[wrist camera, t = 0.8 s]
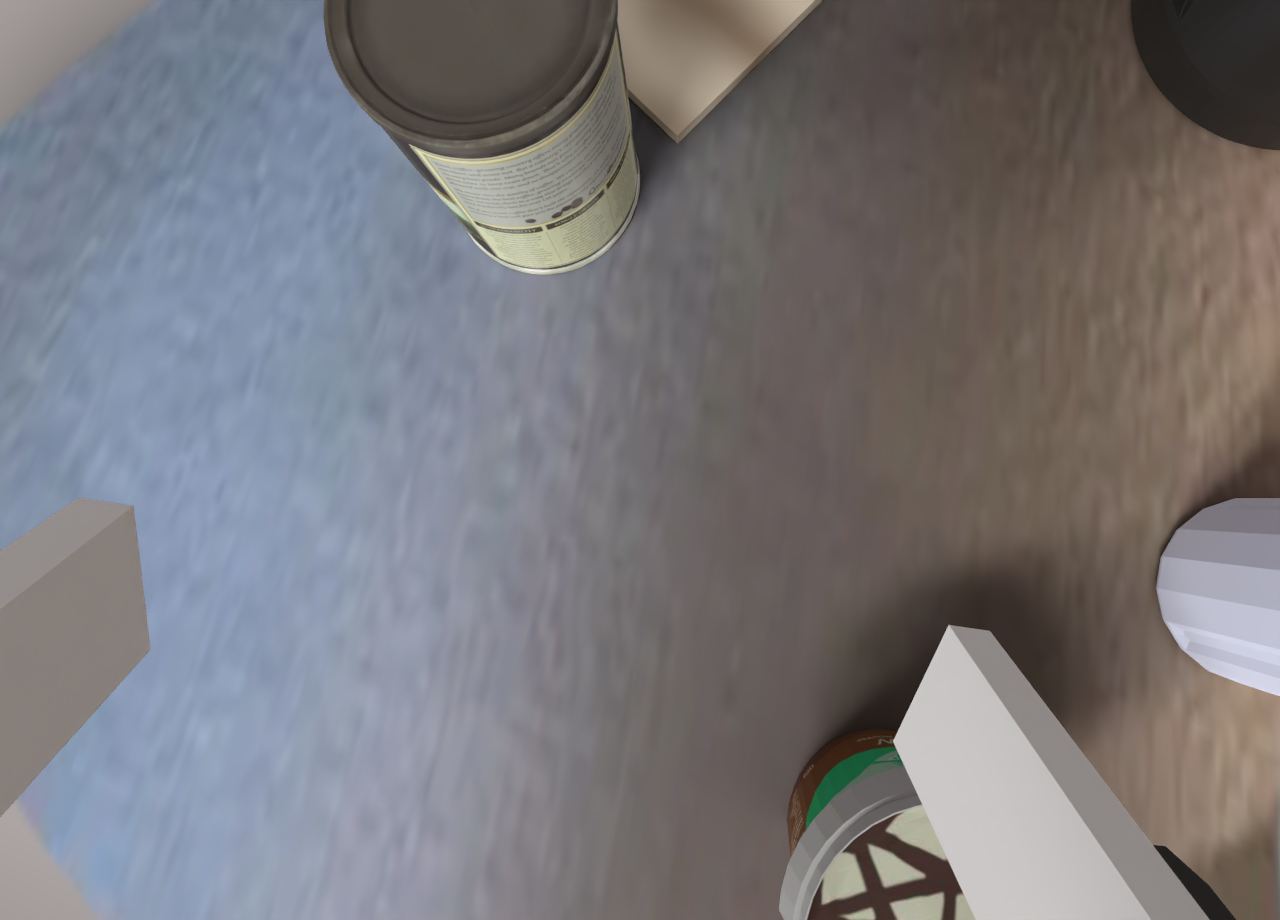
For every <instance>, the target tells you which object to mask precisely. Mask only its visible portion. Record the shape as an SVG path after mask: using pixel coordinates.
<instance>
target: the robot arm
mask: <svg viewBox="0 0 1280 920" xmlns="http://www.w3.org/2000/svg"><path fill="white" fill-rule="evenodd" d="M1132 22H1133V29H1134V34H1135V39H1136V43H1137V46H1138V50H1139V52H1140V55H1141V58H1142V60H1143V62H1144V64H1145V66H1146V69H1147V70H1148V72H1149V74H1150V76H1151V77H1152V79H1153V80H1154V82H1155V83H1156V85H1157V86H1158V88H1159V89H1160V90H1161V92H1162V93H1163V94H1164V95H1165V96H1166V97H1167V99H1168V100H1169V101H1170V102H1171V103H1172V104H1173V105H1174V106H1175V107H1176V108H1177V109H1178V110H1179V111H1181V112H1182V113H1183V114H1184V115H1186V116H1187V117H1188V118H1189V119H1191V120H1192V121H1194V122H1195V123H1197V124H1198V125H1200V126H1202V127H1203V128H1205V129H1207V130H1208V131H1210V132H1212V133H1214V134H1216V135H1218V136H1221V137H1223V138H1226V139H1228V140H1231V141H1234V142H1237V143H1240V144H1244V145H1248V146H1252V147H1257V148H1263V149H1271V150H1280V0H1132ZM149 651H150V640H149V632H148V624H147V615H146V607H145V598H144V590H143V581H142V573H141V565H140V556H139V548H138V539H137V531H136V522H135V514H134V506H132V505H125V504H118V503H111V502H105V501H98V500H91V499H84V498H77V499H76V500H74V501H73V502H71V503H70V504H68V505H67V506H66V507H64V508H63V509H61V510H60V511H58V512H57V513H55V514H54V515H52V516H51V517H49V518H48V519H46V520H45V521H44V522H42V523H41V524H39V525H38V526H36V527H35V528H33V529H32V530H30V531H29V532H27V533H26V534H24V535H23V536H22V537H20V538H19V539H17V540H16V541H14V542H13V543H11V544H10V545H8V546H7V547H5V548H4V549H2V550H1V551H0V817H1V816H2V815H3V814H4V812H5V811H6V810H7V809H8V808H9V807H10V806H11V805H12V804H13V803H14V801H15V800H16V799H17V798H18V797H19V796H20V795H21V794H22V792H23V791H24V790H25V789H26V788H27V787H28V786H29V785H30V784H31V782H32V781H33V780H34V779H35V778H36V777H37V776H38V775H39V773H40V772H41V771H42V770H43V769H44V768H45V767H46V766H47V765H48V763H49V762H50V761H51V760H52V759H53V758H54V757H55V756H56V754H57V753H58V752H59V751H60V750H61V749H62V748H63V747H64V746H65V744H66V743H67V742H68V741H69V740H70V739H71V738H72V737H73V735H74V734H75V733H76V732H77V731H78V730H79V729H80V728H81V727H82V725H83V724H84V723H85V722H86V721H87V720H88V719H89V718H90V716H91V715H92V714H93V713H94V712H95V711H96V710H97V709H98V708H99V706H100V705H101V704H102V703H103V702H104V701H105V700H106V699H107V697H108V696H109V695H110V694H111V693H112V692H113V691H114V690H115V689H116V687H117V686H118V685H119V684H120V683H121V682H122V681H123V680H124V679H125V677H126V676H127V675H128V674H129V673H130V672H131V671H132V670H133V668H134V667H135V666H136V665H137V664H138V663H139V662H140V661H141V660H142V658H143V657H144V656H145V655H146V654H147V653H148V652H149ZM893 743H894V745H895V747H896V749H897V751H898V753H899V755H900V758H901V760H902V762H903V764H904V766H905V768H906V771H907V773H908V775H909V777H910V779H911V781H912V784H913V786H914V788H915V790H916V792H917V794H918V797H919V799H920V801H921V803H922V805H923V807H924V809H925V812H926V814H927V816H928V818H929V820H930V822H931V825H932V827H933V829H934V831H935V833H936V835H937V838H938V840H939V842H940V844H941V846H942V848H943V851H944V853H945V855H946V857H947V859H948V861H949V863H950V866H951V868H952V870H953V872H954V874H955V876H956V879H957V881H958V883H959V885H960V887H961V889H962V892H963V894H964V896H965V898H966V900H967V902H968V905H969V907H970V909H971V911H972V913H973V915H974V917H975V920H1236V919H1235V918H1234V916H1233V915H1232V914H1231V913H1230V911H1229V910H1228V909H1227V908H1226V906H1225V905H1224V904H1223V903H1222V901H1221V900H1220V899H1219V898H1218V896H1217V895H1216V894H1215V893H1214V891H1213V890H1212V889H1211V888H1210V886H1209V885H1208V884H1207V883H1206V882H1204V881H1203V880H1202V879H1201V878H1200V877H1199V876H1198V875H1197V874H1196V873H1194V872H1193V871H1192V870H1191V869H1190V868H1189V867H1188V866H1187V865H1186V864H1184V863H1183V862H1182V861H1181V860H1180V859H1179V858H1178V857H1177V856H1176V855H1174V854H1173V853H1172V852H1171V851H1170V850H1169V849H1168V848H1167V847H1165V846H1157V845H1152V843H1151V842H1150V841H1149V839H1148V838H1147V837H1146V835H1145V834H1144V833H1143V831H1142V830H1141V829H1140V828H1139V826H1138V825H1137V824H1136V822H1135V821H1134V820H1133V818H1132V817H1131V816H1130V814H1129V813H1128V812H1127V810H1126V809H1125V808H1124V806H1123V805H1122V804H1121V803H1120V801H1119V800H1118V799H1117V797H1116V796H1115V795H1114V793H1113V792H1112V791H1111V789H1110V788H1109V787H1108V785H1107V784H1106V783H1105V782H1104V780H1103V779H1102V778H1101V776H1100V775H1099V774H1098V772H1097V771H1096V770H1095V768H1094V767H1093V766H1092V764H1091V763H1090V762H1089V760H1088V759H1087V758H1086V757H1085V755H1084V754H1083V753H1082V751H1081V750H1080V749H1079V747H1078V746H1077V745H1076V743H1075V742H1074V741H1073V739H1072V738H1071V737H1070V736H1069V734H1068V733H1067V732H1066V730H1065V729H1064V728H1063V726H1062V725H1061V724H1060V722H1059V721H1058V720H1057V718H1056V717H1055V716H1054V715H1053V713H1052V712H1051V711H1050V709H1049V708H1048V707H1047V705H1046V704H1045V703H1044V701H1043V700H1042V699H1041V697H1040V696H1039V695H1038V693H1037V692H1036V691H1035V690H1034V688H1033V687H1032V686H1031V684H1030V683H1029V682H1028V680H1027V679H1026V678H1025V676H1024V675H1023V674H1022V672H1021V671H1020V670H1019V669H1018V667H1017V666H1016V665H1015V663H1014V662H1013V661H1012V659H1011V658H1010V657H1009V655H1008V654H1007V653H1006V651H1005V650H1004V649H1003V647H1002V646H1001V645H1000V644H999V642H998V641H997V640H996V638H995V637H994V636H993V634H992V633H991V632H990V631H987V630H980V629H973V628H967V627H960V626H953V625H948V627H947V630H946V632H945V634H944V636H943V638H942V640H941V642H940V644H939V646H938V648H937V650H936V653H935V655H934V657H933V659H932V661H931V663H930V665H929V667H928V669H927V671H926V673H925V675H924V678H923V680H922V682H921V684H920V686H919V688H918V690H917V692H916V694H915V696H914V698H913V701H912V703H911V705H910V707H909V709H908V711H907V713H906V715H905V717H904V719H903V721H902V724H901V726H900V728H899V730H898V732H897V734H896V736H895V738H894V740H893Z"/></svg>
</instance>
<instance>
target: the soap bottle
mask: <svg viewBox="0 0 1280 920" xmlns="http://www.w3.org/2000/svg"><path fill="white" fill-rule="evenodd" d="M1156 591H1157V595H1158V600H1159V605H1160V610H1161V615H1162V619H1163V621H1164V622H1165V624H1166V625H1167V627H1168V629H1169V630H1170V632H1171V634H1172V635H1173V637H1174V638H1175V640H1176V642H1177V643H1178V645H1179V647H1180V648H1181V649H1182V650H1183V651H1184V652H1186V653H1187V654H1188V655H1189V656H1191V657H1192V658H1193V659H1194V660H1195V661H1197V662H1198V663H1199V664H1200V665H1201V666H1203V667H1204V668H1205V669H1206V670H1208V671H1209V672H1212V673H1215V674H1217V675H1220V676H1223V677H1225V678H1228V679H1231V680H1233V681H1236V682H1238V683H1241V684H1244V685H1247V686H1250V687H1253V688H1256V689H1259V690H1262V691H1265V692H1268V693H1271V694H1274V695H1277V696H1280V498H1234V499H1231V500H1228V501H1225V502H1222V503H1219V504H1216V505H1213V506H1210V507H1207V508H1204V509H1202V510H1201V511H1200V512H1198V513H1197V514H1196V515H1195V516H1193V517H1192V518H1191V519H1190V520H1188V521H1187V522H1186V523H1185V524H1183V525H1182V526H1181V527H1180V528H1178V529H1177V530H1176V531H1175V533H1174V535H1173V537H1172V538H1171V540H1170V542H1169V544H1168V545H1167V547H1166V549H1165V550H1164V552H1163V554H1162V556H1161V558H1160V565H1159V571H1158V577H1157V584H1156Z"/></svg>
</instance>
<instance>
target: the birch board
mask: <svg viewBox="0 0 1280 920" xmlns="http://www.w3.org/2000/svg"><path fill="white" fill-rule="evenodd" d="M822 1H823V0H618V17H617V21H618V28H619V35H620V42H621V50H622V57H623V63H624V69H625V77H626V84H627V91H628V97H629V98H630V99H631V100H632V101H633V102H634V103H635V104H636V105H638V106H639V107H640V108H641V109H642V110H643V111H644V112H645V113H646V114H647V115H648V116H649V117H650V118H651V119H652V120H653V121H654V122H655V123H656V124H657V125H658V126H660V127H661V128H662V129H663V130H664V131H665V132H666V133H667V134H668V135H669V136H670V137H671V138H672V139H673V140H674V141H675V142H676V143H677V144H678V143H679V142H680V141H681V140H682V139H683V138H684V137H685V136H686V135H687V134H688V133H689V132H690V131H691V130H692V129H693V128H694V127H695V126H696V125H697V124H698V123H699V122H700V121H701V120H702V119H703V118H704V117H705V116H706V115H707V114H708V113H709V112H710V111H711V110H712V109H713V108H714V107H715V106H716V105H717V104H718V103H719V102H720V101H721V100H722V99H723V98H724V97H725V96H726V95H728V94H729V93H730V92H731V91H732V90H733V89H734V88H735V87H736V86H737V85H738V84H739V83H740V82H741V81H742V80H743V79H744V78H745V77H746V76H747V75H748V74H749V73H750V72H751V71H752V70H753V69H754V68H755V67H756V66H757V65H758V64H759V63H760V62H761V61H762V60H763V59H764V58H765V57H766V56H767V55H768V54H769V53H770V52H771V51H772V50H773V49H774V48H775V47H776V46H777V45H778V44H779V43H780V42H781V41H782V40H783V39H784V38H785V37H786V36H787V35H788V34H789V33H790V32H791V31H792V30H793V29H794V28H795V27H796V26H797V25H798V24H799V23H800V22H801V21H802V20H803V19H804V18H805V17H806V16H807V15H808V14H809V13H811V12H812V11H813V10H814V9H815V8H816V7H817V6H818V5H819V4H820V3H821V2H822Z"/></svg>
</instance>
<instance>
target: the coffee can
mask: <svg viewBox="0 0 1280 920" xmlns="http://www.w3.org/2000/svg"><path fill="white" fill-rule="evenodd" d="M617 17H618V0H324V25H325V35H326V41H327V47H328V50H329V53H330V56H331V58H332V61H333V64H334V66H335V69H336V71H337V73H338V75H339V77H340V78H341V80H342V82H343V84H344V85H345V87H346V88H347V90H348V91H349V93H350V94H351V96H352V97H353V98H354V99H355V101H356V102H357V103H358V104H359V105H360V107H361V108H362V109H363V110H364V111H365V112H366V113H367V114H368V115H369V116H370V117H371V118H372V119H373V120H374V121H375V122H376V123H377V124H379V125H380V126H381V127H382V128H383V129H384V130H385V131H386V133H387V134H388V135H389V136H390V138H391V139H392V140H393V141H394V142H395V144H396V145H397V146H398V147H399V149H400V150H401V151H402V152H403V153H404V155H405V156H406V157H407V158H408V160H409V161H410V162H411V163H412V164H413V166H414V167H415V168H416V169H417V170H418V171H419V173H420V174H421V175H422V176H423V177H424V179H425V180H426V181H427V182H428V183H429V185H430V186H431V187H432V188H433V190H434V191H435V192H436V193H437V194H438V196H439V197H440V198H441V199H442V201H443V202H444V203H445V204H446V206H447V207H448V208H449V209H450V210H451V212H452V213H453V214H454V215H455V217H456V218H457V219H458V221H459V222H460V223H461V224H462V225H463V226H464V228H465V229H466V230H467V232H468V234H469V235H470V237H471V238H472V239H473V241H474V242H475V243H476V244H477V245H478V246H479V247H480V248H481V249H482V250H483V251H484V252H485V253H486V254H487V255H489V256H490V257H491V258H493V259H494V260H496V261H497V262H499V263H501V264H502V265H504V266H506V267H509V268H511V269H514V270H517V271H521V272H525V273H531V274H556V273H563V272H568V271H572V270H575V269H578V268H580V267H582V266H584V265H586V264H588V263H590V262H592V261H594V260H595V259H597V258H598V257H600V256H601V255H602V254H604V253H605V252H606V251H607V250H609V249H610V248H611V247H612V245H613V244H614V243H615V242H616V241H617V240H618V239H619V238H620V236H621V235H622V233H623V232H624V230H625V229H626V227H627V226H628V224H629V223H630V221H631V219H632V216H633V213H634V210H635V208H636V205H637V201H638V196H639V191H640V169H639V162H638V157H637V154H636V150H635V144H634V135H633V129H632V122H631V113H630V106H629V98H628V91H627V84H626V77H625V69H624V63H623V57H622V50H621V42H620V35H619V28H618V21H617Z"/></svg>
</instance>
